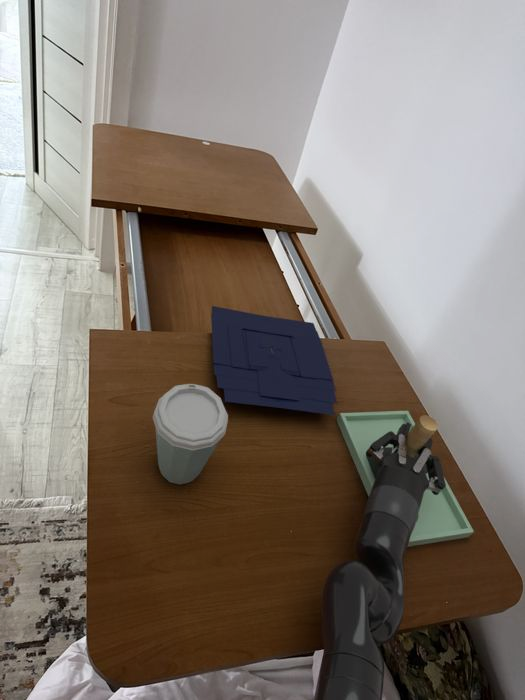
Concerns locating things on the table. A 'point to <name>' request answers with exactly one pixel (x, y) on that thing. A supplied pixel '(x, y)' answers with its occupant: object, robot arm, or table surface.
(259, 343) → the folded navy cloth
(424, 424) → the wooden handled stamp
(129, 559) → the table surface
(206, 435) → the disposable coffee cup
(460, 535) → the tray
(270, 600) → the table surface
